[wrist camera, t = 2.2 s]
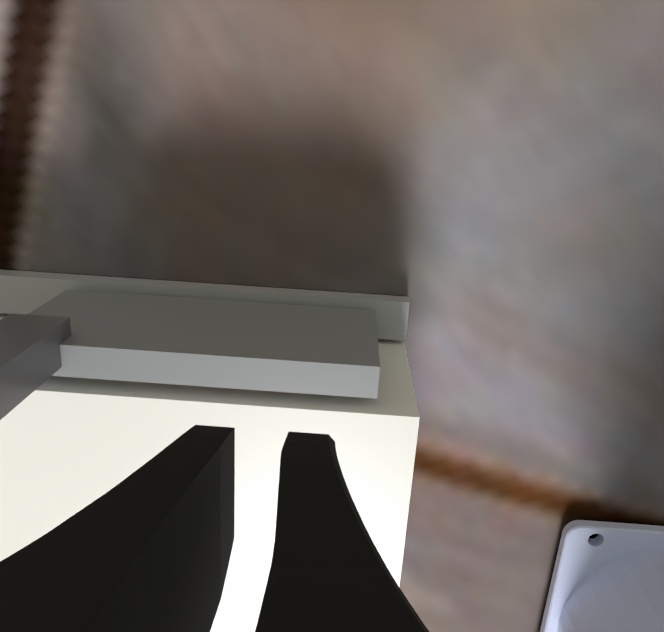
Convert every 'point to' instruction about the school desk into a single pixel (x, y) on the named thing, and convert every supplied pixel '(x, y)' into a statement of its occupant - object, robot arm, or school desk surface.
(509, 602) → the school desk surface
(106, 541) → the robot arm
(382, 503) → the camera housing
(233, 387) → the side door
